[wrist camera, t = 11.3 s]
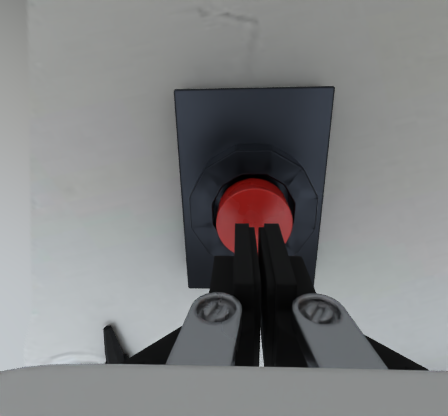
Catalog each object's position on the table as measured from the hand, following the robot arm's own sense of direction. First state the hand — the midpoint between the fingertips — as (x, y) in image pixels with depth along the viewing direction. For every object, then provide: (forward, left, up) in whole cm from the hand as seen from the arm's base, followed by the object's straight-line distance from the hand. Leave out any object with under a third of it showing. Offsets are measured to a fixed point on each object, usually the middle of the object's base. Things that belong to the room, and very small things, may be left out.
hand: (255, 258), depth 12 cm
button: (0, 0, -4) cm, 5 cm away
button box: (0, 0, -8) cm, 8 cm away
